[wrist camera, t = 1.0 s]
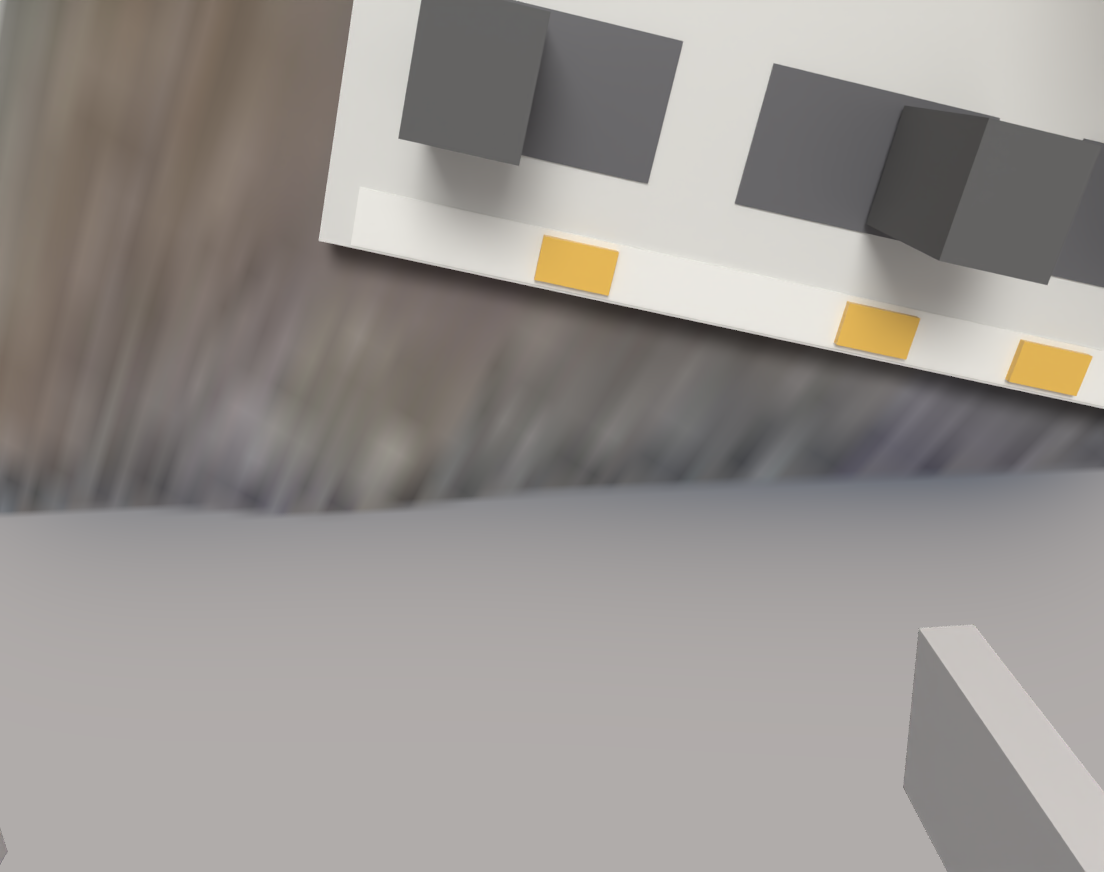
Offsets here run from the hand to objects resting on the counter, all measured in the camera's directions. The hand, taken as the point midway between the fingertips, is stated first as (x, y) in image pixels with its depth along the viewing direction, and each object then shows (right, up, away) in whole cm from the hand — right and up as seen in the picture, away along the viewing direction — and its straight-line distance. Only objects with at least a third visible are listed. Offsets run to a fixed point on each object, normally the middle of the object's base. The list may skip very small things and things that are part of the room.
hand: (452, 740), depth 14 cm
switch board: (+11, +13, +19) cm, 26 cm away
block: (-1, +15, +16) cm, 22 cm away
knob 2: (+13, +12, +17) cm, 25 cm away
